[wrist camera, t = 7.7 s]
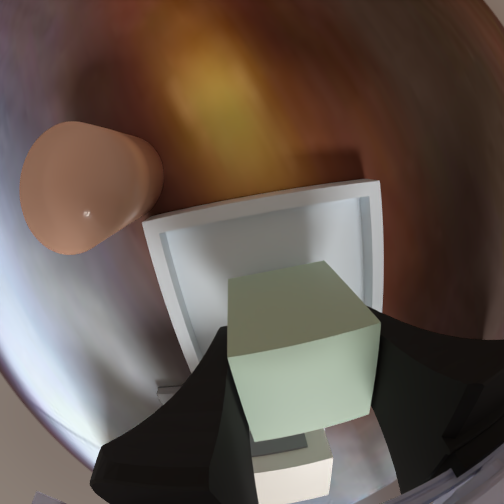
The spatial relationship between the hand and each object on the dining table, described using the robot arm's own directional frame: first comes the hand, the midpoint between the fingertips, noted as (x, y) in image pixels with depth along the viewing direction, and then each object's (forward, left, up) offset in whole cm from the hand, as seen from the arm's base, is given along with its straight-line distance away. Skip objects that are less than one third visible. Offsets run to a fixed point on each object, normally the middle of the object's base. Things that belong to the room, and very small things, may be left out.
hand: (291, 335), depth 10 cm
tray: (0, 0, -3) cm, 3 cm away
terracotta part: (+6, -7, -3) cm, 10 cm away
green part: (0, 0, -2) cm, 2 cm away
